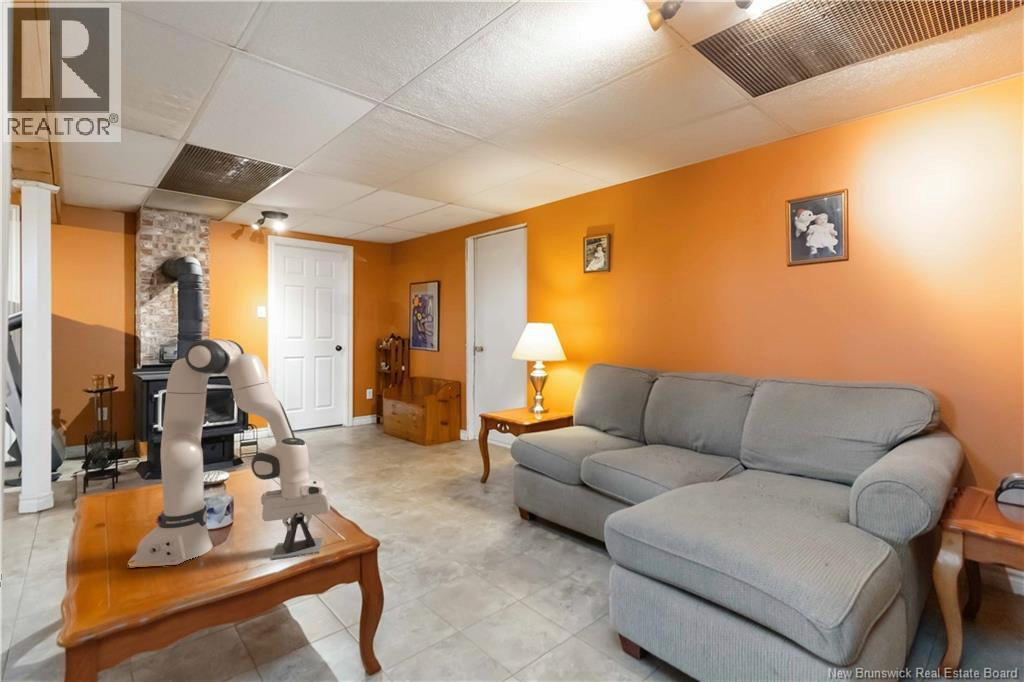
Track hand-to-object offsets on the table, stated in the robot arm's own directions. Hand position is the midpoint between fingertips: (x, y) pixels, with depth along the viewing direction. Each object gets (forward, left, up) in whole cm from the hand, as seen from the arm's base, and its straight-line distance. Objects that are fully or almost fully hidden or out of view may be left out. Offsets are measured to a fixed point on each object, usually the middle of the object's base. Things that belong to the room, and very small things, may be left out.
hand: (297, 529), depth 160 cm
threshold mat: (0, 0, -6) cm, 6 cm away
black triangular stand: (0, 0, -6) cm, 6 cm away
